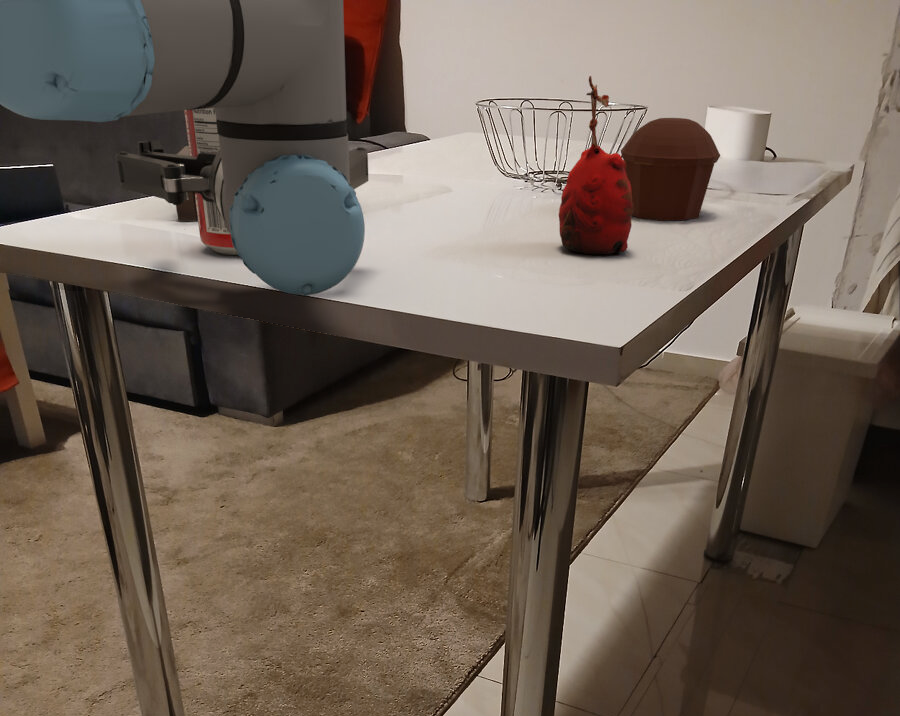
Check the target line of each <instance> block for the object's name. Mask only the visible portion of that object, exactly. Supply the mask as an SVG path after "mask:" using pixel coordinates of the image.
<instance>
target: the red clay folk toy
mask: <svg viewBox="0 0 900 716" xmlns="http://www.w3.org/2000/svg"><path fill="white" fill-rule="evenodd" d="M592 80H593V79H592V75H588V83H589V87H590V89H591V91H590V92H586V96H590V101H591V104H590V105H591V117H592V119H590V120H589V124H588V128H589V129H590V131H591V142H590V143H591V145H590V147H589V148H587V149H585V150H583V151H582V152H581V154H580V157H579V159H578V160H577V162H576V163H575V164H574V165H573V167H572V168H571V169H570V171H569V172H568V175H567V178H566V184H565V186H564V187H563V189H562V194H561V198H560V199H561V202H560V206H559V209H558V222H559V237H560V240H561V244H562V246H563V247H564V249H565V248H566V249H567V250H569V251H572V252H575V253H578V254H585V255H598V256H599V255H611V254H613V253H617V254H623V253H624V252H626V251H627V249H628V247H629V245H628V244H629V243H628V240H629V238H630V237H629V236H630V234H631V230H632V217H633V216H632V214H633V211H634V206H633V203H632V193H631V184H630V182H629V180H628V178H627V174H626V162H625V161H624V159H623V158H622V155H621V153H617V152H614V153H611V154H610V153H608V152H606V151H605V150H604V149H603V148H602V147H601V146H600V145H599V144H598V139H597V130H596V128H597V126H598V123H599V122H598V119H596V118H597V117H596V115H597V105H598V104H597V103H598V102H599V103H600V104H601V105H602V106H603V107H605V108H608V107H609V102H610V96H609V95H608V94H602V96H601V95H598V94H599V93H598V85H597V84H593V81H592Z"/></svg>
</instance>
